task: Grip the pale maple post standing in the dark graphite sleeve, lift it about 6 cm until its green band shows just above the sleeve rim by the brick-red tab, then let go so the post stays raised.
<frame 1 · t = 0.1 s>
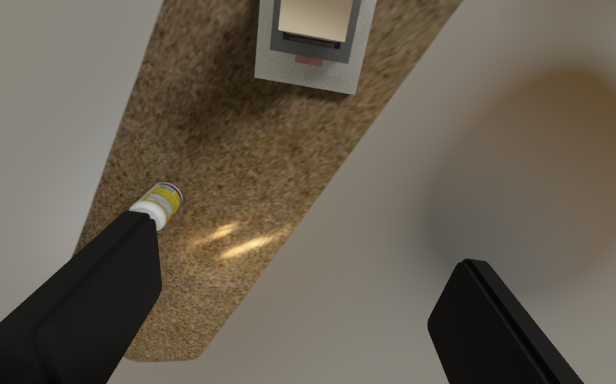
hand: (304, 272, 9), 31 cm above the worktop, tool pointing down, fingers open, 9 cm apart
supplement bottle: (168, 194, 44), on the worktop
stand base: (315, 19, 33), on the worktop
column: (316, 10, 23), point 10 cm above the worktop, slide at 0.0 cm
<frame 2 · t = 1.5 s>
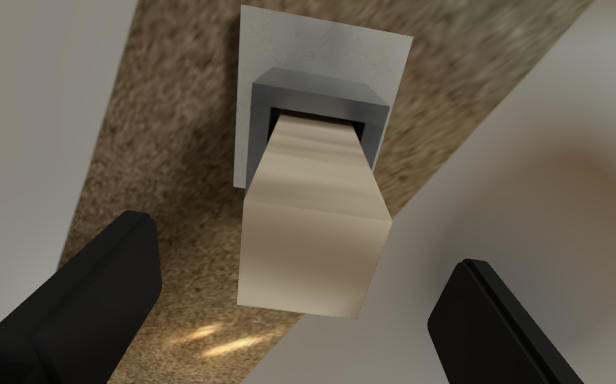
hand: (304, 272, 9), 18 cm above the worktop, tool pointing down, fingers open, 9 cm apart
stand base: (312, 115, 25), on the worktop
column: (310, 162, 16), point 11 cm above the worktop, slide at 0.0 cm
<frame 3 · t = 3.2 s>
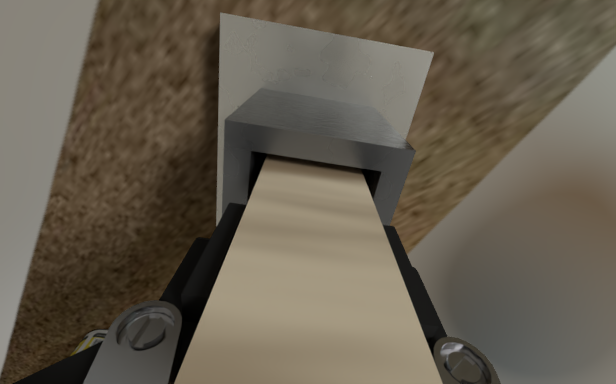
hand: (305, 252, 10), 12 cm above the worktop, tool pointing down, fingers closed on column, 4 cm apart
supplement bottle: (110, 340, 32), on the worktop
stand base: (309, 142, 21), on the worktop
column: (306, 223, 12), point 10 cm above the worktop, slide at 0.0 cm, touching gripper
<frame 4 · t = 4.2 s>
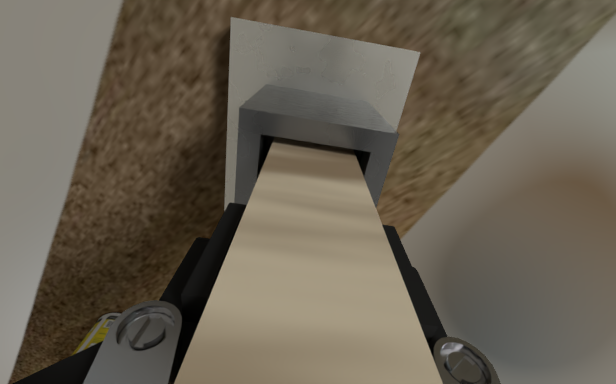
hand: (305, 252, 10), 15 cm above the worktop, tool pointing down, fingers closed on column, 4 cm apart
supplement bottle: (121, 323, 34), on the worktop
stand base: (309, 134, 23), on the worktop
column: (306, 223, 12), point 13 cm above the worktop, slide at 2.2 cm, touching gripper
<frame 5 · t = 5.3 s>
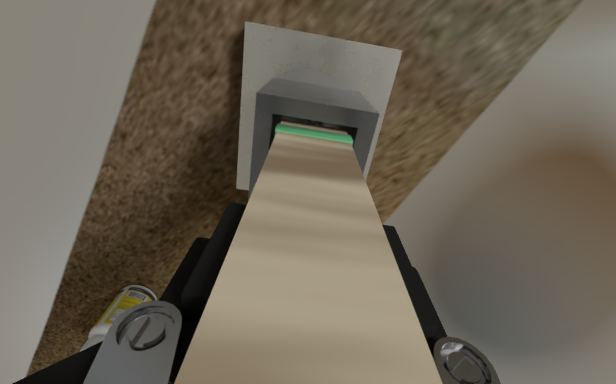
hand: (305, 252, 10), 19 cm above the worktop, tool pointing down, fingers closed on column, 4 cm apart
supplement bottle: (140, 295, 38), on the worktop
stand base: (310, 121, 27), on the worktop
column: (306, 223, 12), point 17 cm above the worktop, slide at 6.4 cm, touching gripper
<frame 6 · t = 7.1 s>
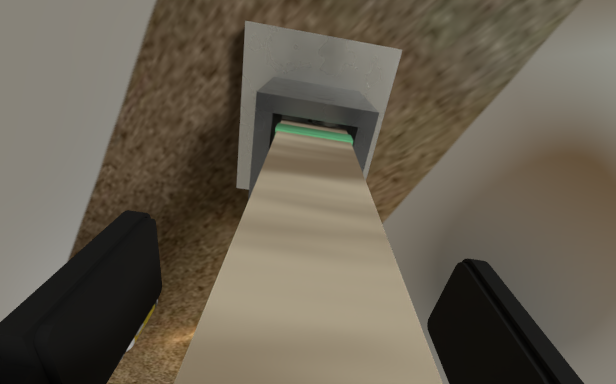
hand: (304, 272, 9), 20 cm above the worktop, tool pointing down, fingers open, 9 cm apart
stand base: (310, 121, 27), on the worktop
column: (306, 222, 12), point 17 cm above the worktop, slide at 6.5 cm
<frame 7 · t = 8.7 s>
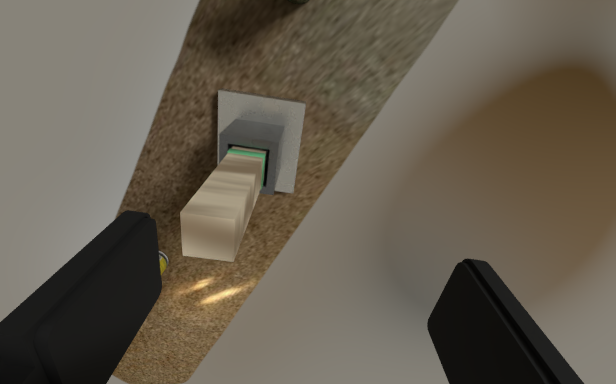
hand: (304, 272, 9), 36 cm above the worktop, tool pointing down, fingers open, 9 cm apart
supplement bottle: (157, 258, 55), on the worktop
stand base: (260, 141, 44), on the worktop
column: (233, 191, 29), point 17 cm above the worktop, slide at 6.5 cm
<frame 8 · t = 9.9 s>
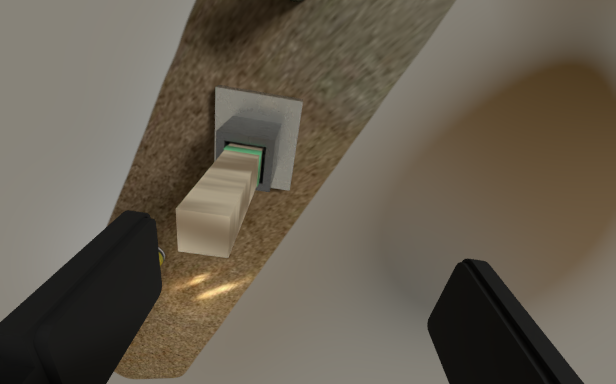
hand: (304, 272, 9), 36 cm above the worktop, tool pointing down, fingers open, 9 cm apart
stand base: (257, 139, 45), on the worktop
column: (229, 188, 29), point 17 cm above the worktop, slide at 6.5 cm
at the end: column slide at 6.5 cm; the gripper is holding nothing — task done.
